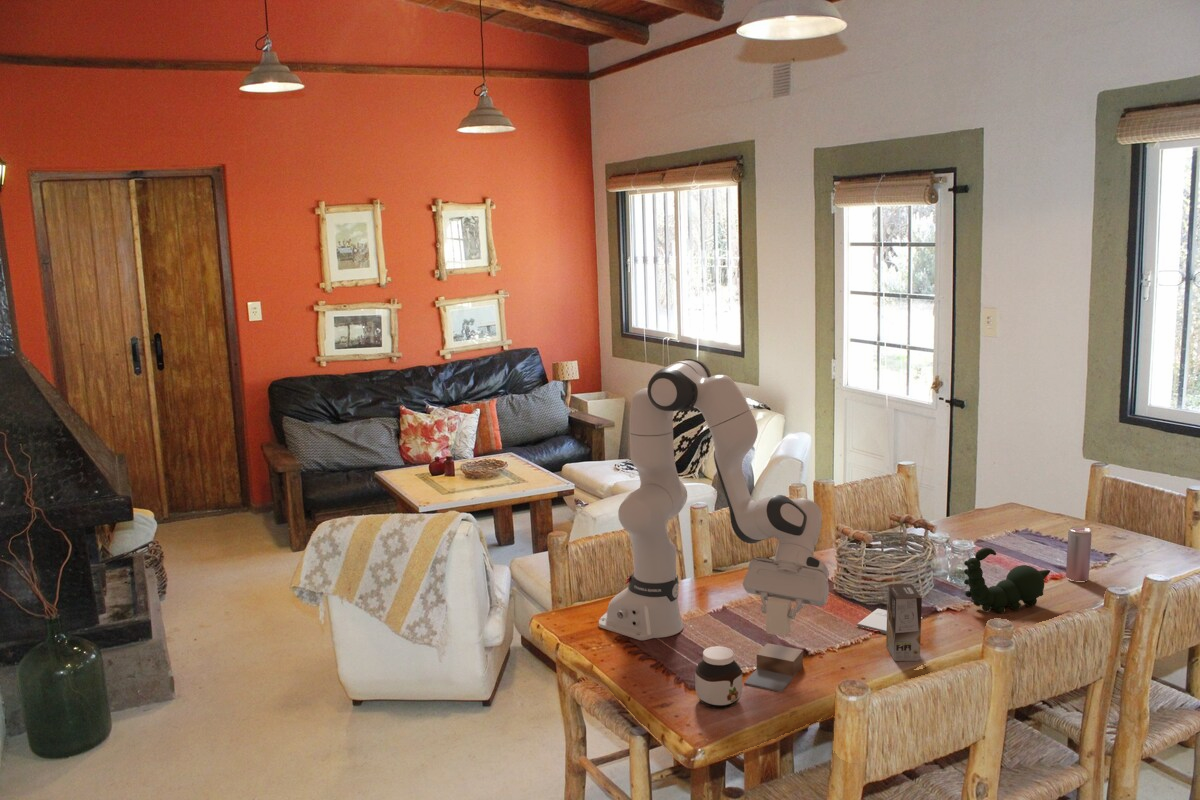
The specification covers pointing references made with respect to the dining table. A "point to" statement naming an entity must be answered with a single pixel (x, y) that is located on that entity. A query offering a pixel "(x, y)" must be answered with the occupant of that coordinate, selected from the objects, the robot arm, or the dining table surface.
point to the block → (778, 616)
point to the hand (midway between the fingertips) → (777, 615)
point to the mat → (768, 680)
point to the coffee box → (903, 622)
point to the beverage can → (1078, 553)
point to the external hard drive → (875, 621)
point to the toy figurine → (1003, 585)
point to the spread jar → (718, 678)
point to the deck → (780, 659)
